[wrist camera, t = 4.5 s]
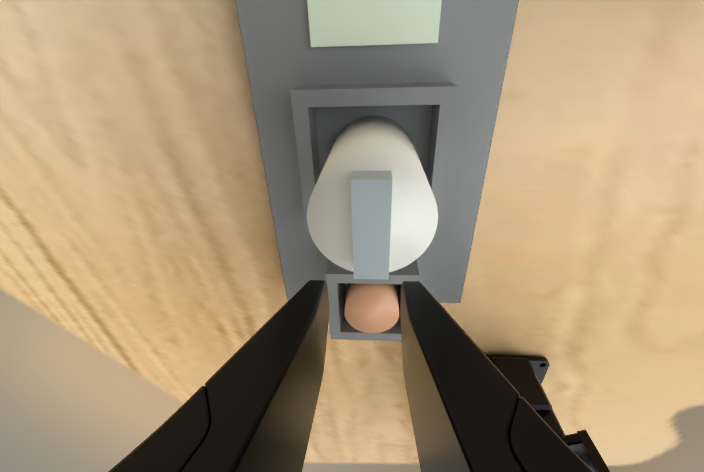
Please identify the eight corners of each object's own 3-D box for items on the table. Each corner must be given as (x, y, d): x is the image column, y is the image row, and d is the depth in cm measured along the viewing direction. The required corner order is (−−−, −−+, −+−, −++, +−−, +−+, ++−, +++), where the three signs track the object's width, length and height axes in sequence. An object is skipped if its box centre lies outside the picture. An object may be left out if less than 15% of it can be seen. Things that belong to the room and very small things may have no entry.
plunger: (394, 296, 21) (397, 334, 18) (349, 295, 21) (345, 332, 18) (396, 258, 19) (400, 293, 16) (347, 258, 19) (343, 292, 17)
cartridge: (411, 197, 18) (434, 289, 11) (334, 196, 18) (308, 287, 11) (417, 114, 16) (451, 165, 9) (329, 116, 16) (294, 166, 9)
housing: (455, 288, 23) (474, 343, 18) (292, 285, 24) (273, 337, 19) (531, -136, 12) (616, -238, 8) (228, -115, 13) (155, -196, 9)
